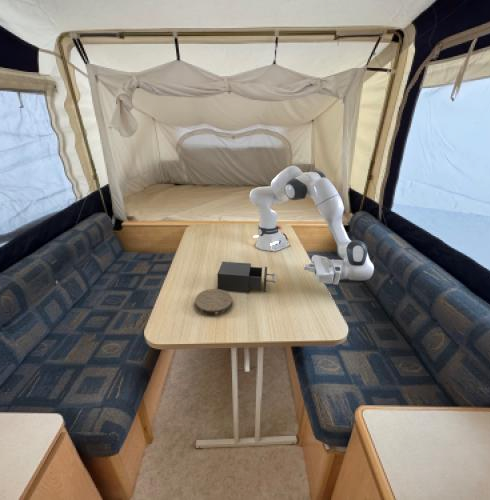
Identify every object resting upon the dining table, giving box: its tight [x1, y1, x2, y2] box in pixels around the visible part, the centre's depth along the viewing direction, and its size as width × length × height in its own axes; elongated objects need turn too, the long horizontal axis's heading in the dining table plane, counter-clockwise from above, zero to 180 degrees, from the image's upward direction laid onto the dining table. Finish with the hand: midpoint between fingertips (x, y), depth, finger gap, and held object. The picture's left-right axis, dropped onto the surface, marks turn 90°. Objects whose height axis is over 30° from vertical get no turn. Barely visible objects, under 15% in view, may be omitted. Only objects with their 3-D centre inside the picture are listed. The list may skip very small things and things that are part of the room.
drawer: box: [248, 266, 276, 293], centre depth 129 cm, size 18×11×7 cm, turn 82°
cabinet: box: [216, 261, 252, 294], centre depth 130 cm, size 15×13×9 cm
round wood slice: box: [194, 288, 233, 317], centre depth 116 cm, size 16×16×3 cm
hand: (303, 267), depth 123 cm, fingers closed
